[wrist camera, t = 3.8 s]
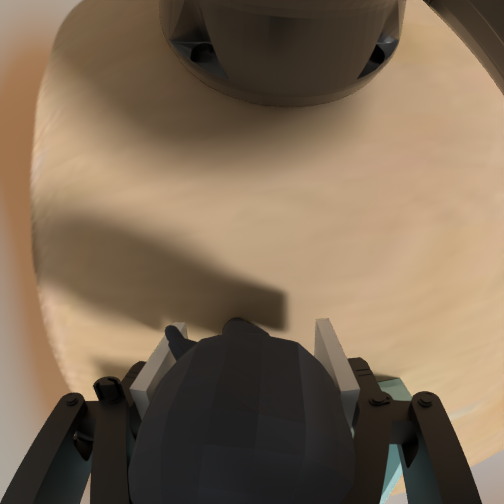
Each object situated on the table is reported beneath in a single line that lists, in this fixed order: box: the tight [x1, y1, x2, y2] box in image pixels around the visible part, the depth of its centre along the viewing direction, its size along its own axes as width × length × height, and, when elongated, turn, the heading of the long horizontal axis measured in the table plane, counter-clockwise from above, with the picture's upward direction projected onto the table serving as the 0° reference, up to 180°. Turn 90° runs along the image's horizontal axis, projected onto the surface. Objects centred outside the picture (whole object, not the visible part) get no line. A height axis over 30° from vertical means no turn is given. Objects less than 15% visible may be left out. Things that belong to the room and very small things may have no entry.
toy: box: [128, 318, 355, 504], centre depth 11 cm, size 9×8×15 cm
